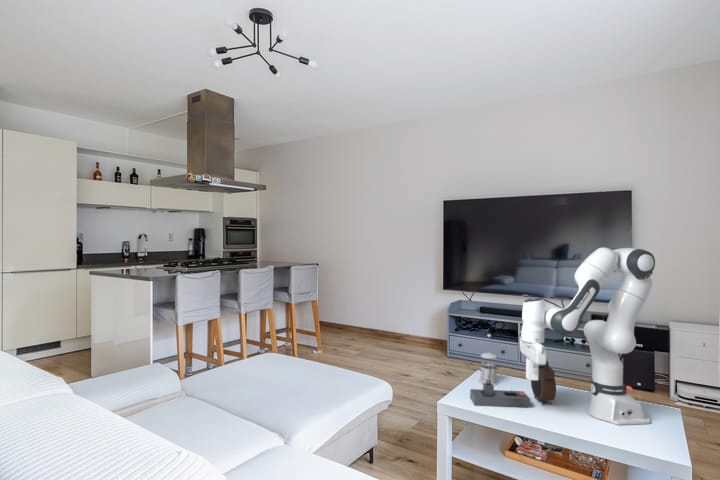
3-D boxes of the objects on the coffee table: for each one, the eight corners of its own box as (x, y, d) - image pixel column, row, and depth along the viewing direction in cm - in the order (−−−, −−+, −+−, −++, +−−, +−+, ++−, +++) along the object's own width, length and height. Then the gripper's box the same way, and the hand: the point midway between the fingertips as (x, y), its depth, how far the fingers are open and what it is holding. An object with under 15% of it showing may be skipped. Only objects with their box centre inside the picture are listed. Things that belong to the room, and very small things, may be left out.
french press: (496, 380, 214) (497, 332, 214) (500, 388, 203) (501, 337, 203) (476, 379, 216) (477, 331, 216) (480, 386, 204) (481, 336, 204)
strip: (523, 400, 188) (523, 390, 188) (530, 407, 179) (530, 397, 179) (470, 397, 189) (470, 387, 189) (474, 405, 180) (474, 395, 180)
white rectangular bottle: (535, 377, 173) (535, 354, 173) (538, 380, 170) (538, 356, 170) (525, 377, 173) (526, 353, 173) (528, 379, 170) (528, 355, 170)
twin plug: (491, 401, 186) (492, 379, 186) (493, 403, 183) (493, 381, 183) (482, 400, 186) (483, 378, 186) (484, 403, 183) (484, 381, 183)
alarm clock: (528, 395, 193) (528, 353, 193) (543, 396, 193) (544, 353, 193) (540, 408, 179) (541, 362, 179) (557, 408, 178) (558, 363, 178)
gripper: (550, 342, 161) (550, 378, 161) (531, 331, 182) (531, 362, 182) (534, 342, 161) (533, 377, 161) (517, 331, 182) (516, 362, 182)
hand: (532, 369), depth 172 cm, fingers closed on white rectangular bottle, 3 cm apart
